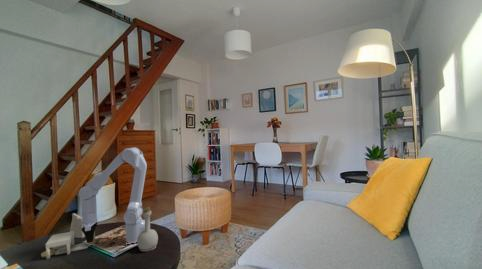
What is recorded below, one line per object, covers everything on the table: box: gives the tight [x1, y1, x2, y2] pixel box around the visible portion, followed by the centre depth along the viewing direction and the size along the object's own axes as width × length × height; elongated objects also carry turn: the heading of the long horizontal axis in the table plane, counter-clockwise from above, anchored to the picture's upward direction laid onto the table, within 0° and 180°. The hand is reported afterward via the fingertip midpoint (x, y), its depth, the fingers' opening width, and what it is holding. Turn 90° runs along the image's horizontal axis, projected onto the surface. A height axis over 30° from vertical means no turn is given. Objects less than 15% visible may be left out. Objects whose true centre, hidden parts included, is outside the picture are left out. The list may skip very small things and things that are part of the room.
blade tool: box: [54, 231, 96, 256], centre depth 102 cm, size 14×5×6 cm, turn 118°
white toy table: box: [45, 231, 75, 260], centre depth 100 cm, size 8×10×6 cm
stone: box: [69, 212, 86, 239], centre depth 116 cm, size 10×5×12 cm, turn 65°
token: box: [40, 248, 57, 259], centre depth 98 cm, size 5×5×1 cm
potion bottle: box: [136, 206, 159, 253], centre depth 101 cm, size 9×9×18 cm
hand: (90, 240), depth 105 cm, fingers closed on blade tool
